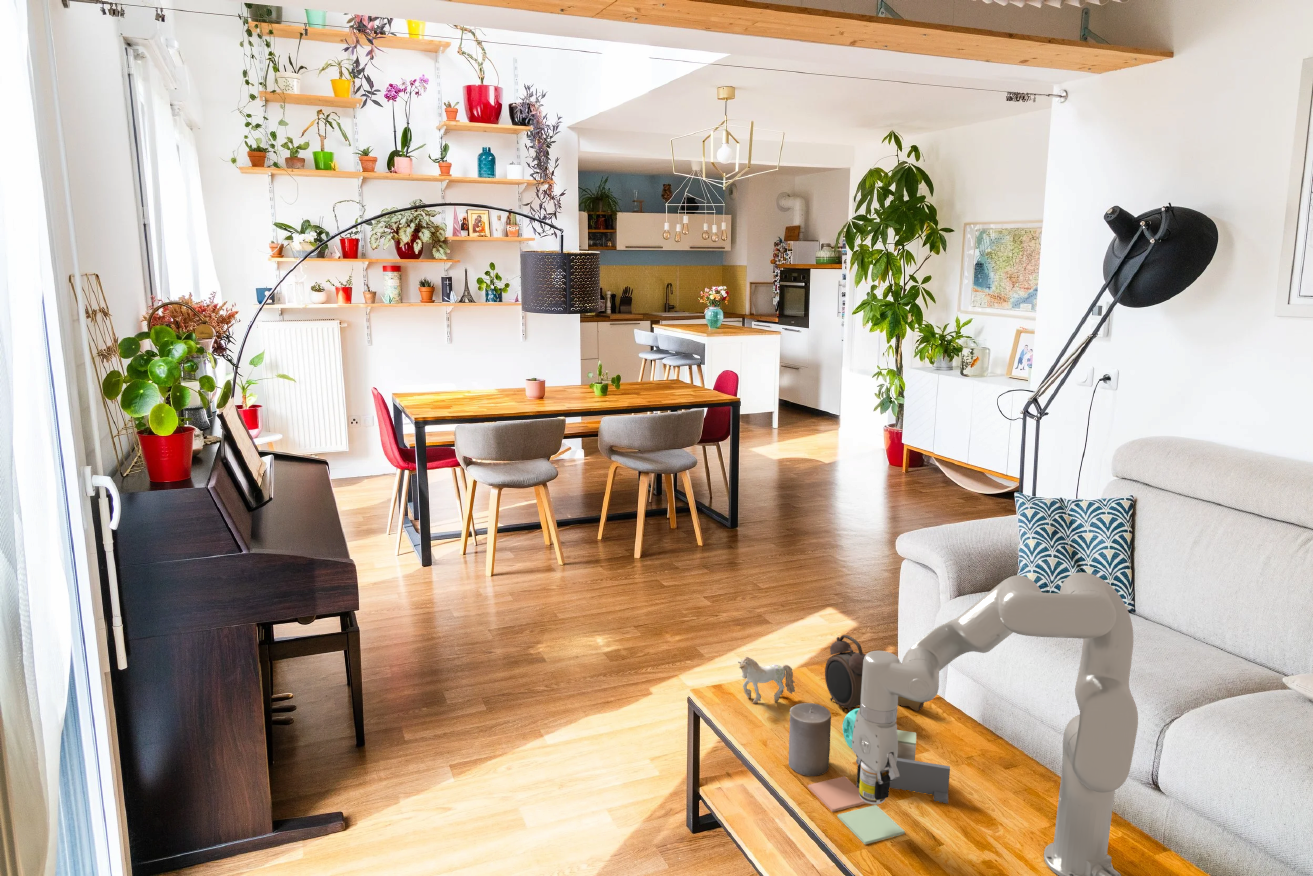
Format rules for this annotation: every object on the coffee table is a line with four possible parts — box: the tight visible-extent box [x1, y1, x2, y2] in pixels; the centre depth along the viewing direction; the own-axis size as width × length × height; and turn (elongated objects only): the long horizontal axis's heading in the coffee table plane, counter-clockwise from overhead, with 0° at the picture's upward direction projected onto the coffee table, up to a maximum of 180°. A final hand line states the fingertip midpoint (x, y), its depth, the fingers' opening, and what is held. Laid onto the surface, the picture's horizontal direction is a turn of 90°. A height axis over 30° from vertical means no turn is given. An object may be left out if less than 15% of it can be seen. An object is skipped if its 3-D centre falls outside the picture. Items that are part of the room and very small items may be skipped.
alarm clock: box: [824, 634, 866, 713], centre depth 238 cm, size 15×7×20 cm, turn 25°
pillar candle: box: [788, 702, 832, 777], centre depth 210 cm, size 10×10×15 cm
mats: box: [807, 775, 906, 845], centre depth 194 cm, size 22×10×1 cm, turn 22°
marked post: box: [897, 729, 917, 761], centre depth 207 cm, size 5×5×10 cm
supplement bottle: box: [858, 760, 887, 805], centre depth 187 cm, size 6×6×10 cm
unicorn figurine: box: [737, 656, 796, 705], centre depth 241 cm, size 7×20×13 cm, turn 118°
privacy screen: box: [855, 758, 951, 804], centre depth 202 cm, size 20×6×7 cm, turn 74°
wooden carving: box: [898, 696, 925, 712], centre depth 242 cm, size 16×5×10 cm, turn 43°
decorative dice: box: [842, 707, 860, 749], centre depth 220 cm, size 8×8×8 cm
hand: (872, 789), depth 187 cm, fingers closed on supplement bottle, 5 cm apart
